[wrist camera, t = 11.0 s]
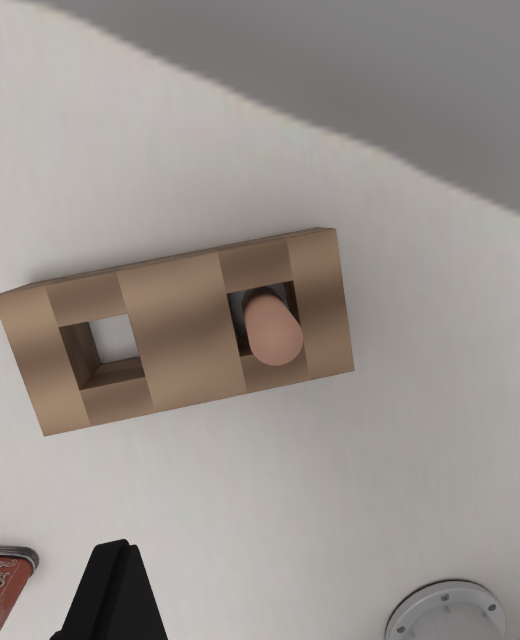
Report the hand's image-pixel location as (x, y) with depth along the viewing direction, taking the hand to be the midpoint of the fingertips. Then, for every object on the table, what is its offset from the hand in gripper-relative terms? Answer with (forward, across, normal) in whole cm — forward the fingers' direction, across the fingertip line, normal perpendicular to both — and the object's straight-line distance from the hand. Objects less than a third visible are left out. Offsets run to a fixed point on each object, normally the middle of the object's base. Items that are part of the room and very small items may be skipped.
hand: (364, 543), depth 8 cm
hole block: (+24, +6, 0) cm, 25 cm away
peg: (+24, 0, 0) cm, 24 cm away
